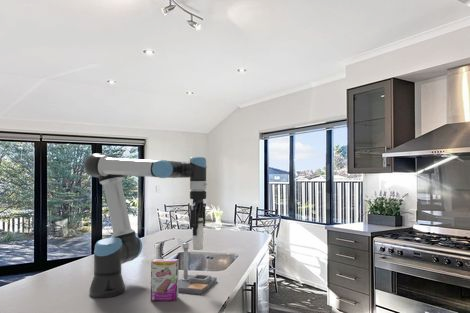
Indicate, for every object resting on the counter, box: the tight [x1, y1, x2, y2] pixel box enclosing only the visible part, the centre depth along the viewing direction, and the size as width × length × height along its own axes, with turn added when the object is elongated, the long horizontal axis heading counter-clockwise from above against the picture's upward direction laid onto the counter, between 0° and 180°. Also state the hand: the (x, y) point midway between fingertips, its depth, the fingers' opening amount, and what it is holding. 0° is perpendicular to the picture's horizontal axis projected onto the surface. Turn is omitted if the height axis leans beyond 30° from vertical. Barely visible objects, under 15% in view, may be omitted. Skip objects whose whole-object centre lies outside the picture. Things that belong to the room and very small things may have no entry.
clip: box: [177, 238, 190, 250], centre depth 178 cm, size 3×15×2 cm, turn 23°
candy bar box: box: [150, 258, 180, 302], centre depth 151 cm, size 11×5×16 cm, turn 92°
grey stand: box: [178, 249, 218, 295], centre depth 168 cm, size 20×16×17 cm
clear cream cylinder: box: [192, 218, 204, 251], centre depth 162 cm, size 5×5×14 cm
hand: (197, 241), depth 162 cm, fingers closed on clear cream cylinder, 4 cm apart
